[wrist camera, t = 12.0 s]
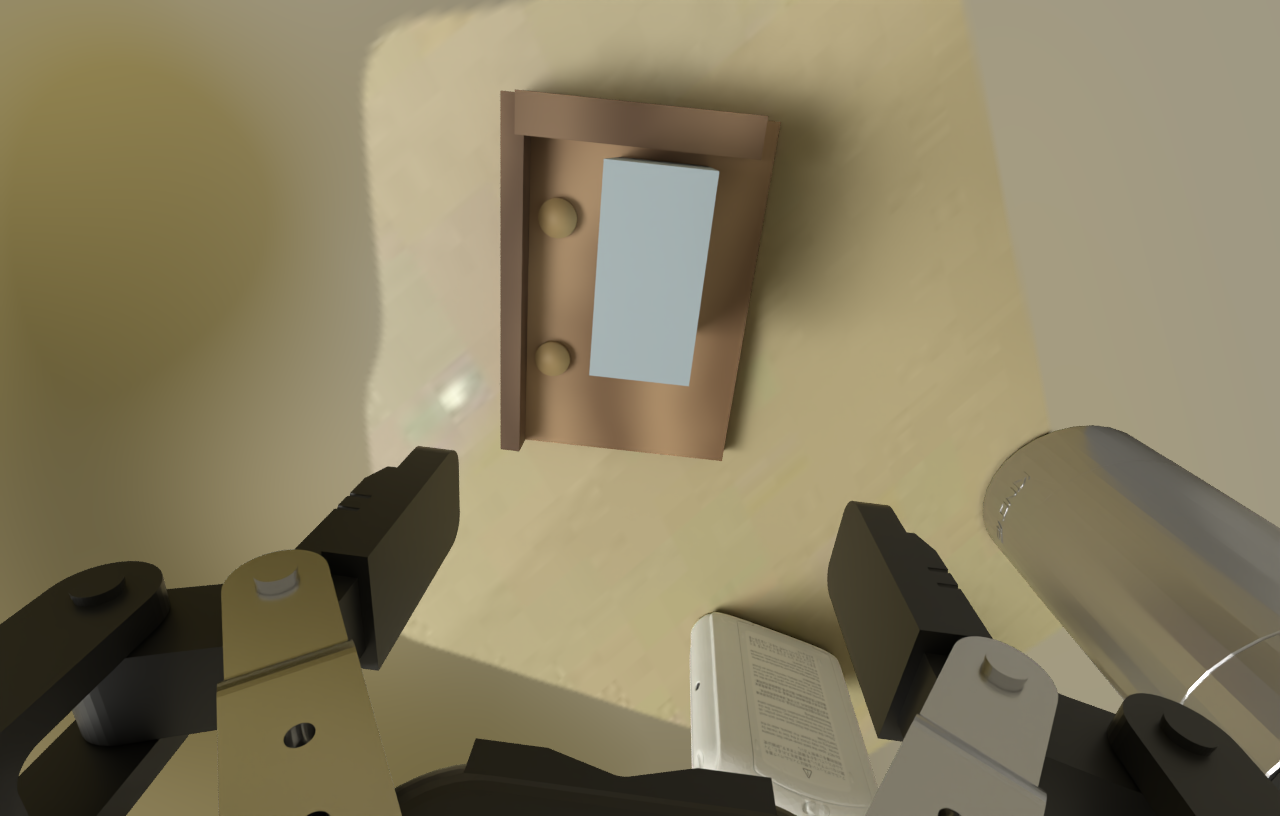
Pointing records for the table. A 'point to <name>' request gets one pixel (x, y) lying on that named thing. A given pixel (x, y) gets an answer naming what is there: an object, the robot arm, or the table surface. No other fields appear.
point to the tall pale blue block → (650, 268)
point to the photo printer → (777, 717)
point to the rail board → (567, 259)
